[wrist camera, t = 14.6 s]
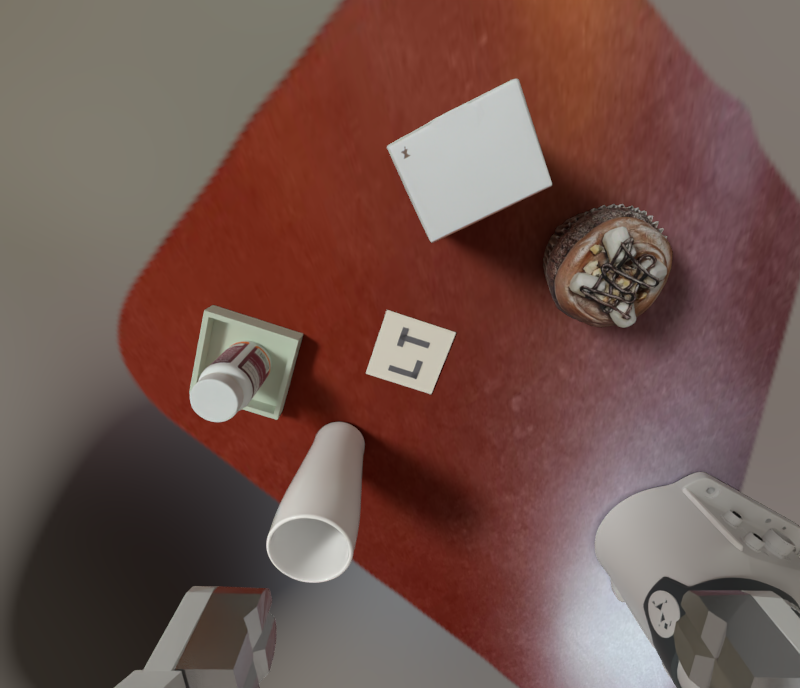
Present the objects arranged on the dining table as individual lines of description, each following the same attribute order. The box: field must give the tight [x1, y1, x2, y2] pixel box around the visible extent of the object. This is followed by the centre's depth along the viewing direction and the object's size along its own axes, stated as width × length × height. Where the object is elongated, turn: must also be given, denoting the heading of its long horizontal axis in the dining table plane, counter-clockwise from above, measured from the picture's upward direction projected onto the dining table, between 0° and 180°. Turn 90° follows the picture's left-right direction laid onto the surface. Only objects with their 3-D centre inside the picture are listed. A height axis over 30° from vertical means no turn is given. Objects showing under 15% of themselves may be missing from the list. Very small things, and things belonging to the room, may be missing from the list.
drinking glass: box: [266, 422, 365, 583], centre depth 40 cm, size 7×7×15 cm
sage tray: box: [189, 305, 303, 420], centre depth 43 cm, size 9×9×2 cm
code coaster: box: [366, 310, 456, 394], centre depth 43 cm, size 7×7×1 cm
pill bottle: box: [190, 341, 272, 422], centre depth 40 cm, size 5×5×8 cm
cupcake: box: [543, 204, 673, 328], centre depth 35 cm, size 10×10×10 cm
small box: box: [387, 79, 552, 243], centre depth 32 cm, size 8×6×13 cm
